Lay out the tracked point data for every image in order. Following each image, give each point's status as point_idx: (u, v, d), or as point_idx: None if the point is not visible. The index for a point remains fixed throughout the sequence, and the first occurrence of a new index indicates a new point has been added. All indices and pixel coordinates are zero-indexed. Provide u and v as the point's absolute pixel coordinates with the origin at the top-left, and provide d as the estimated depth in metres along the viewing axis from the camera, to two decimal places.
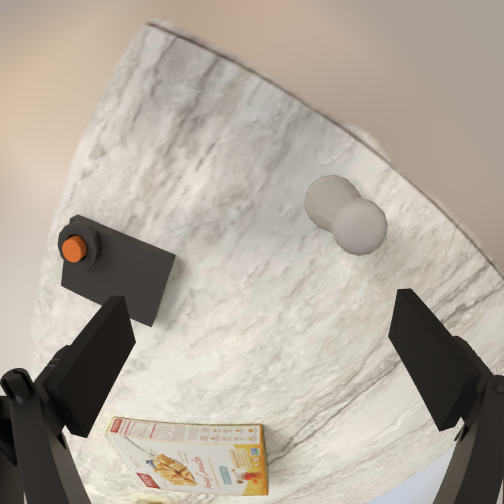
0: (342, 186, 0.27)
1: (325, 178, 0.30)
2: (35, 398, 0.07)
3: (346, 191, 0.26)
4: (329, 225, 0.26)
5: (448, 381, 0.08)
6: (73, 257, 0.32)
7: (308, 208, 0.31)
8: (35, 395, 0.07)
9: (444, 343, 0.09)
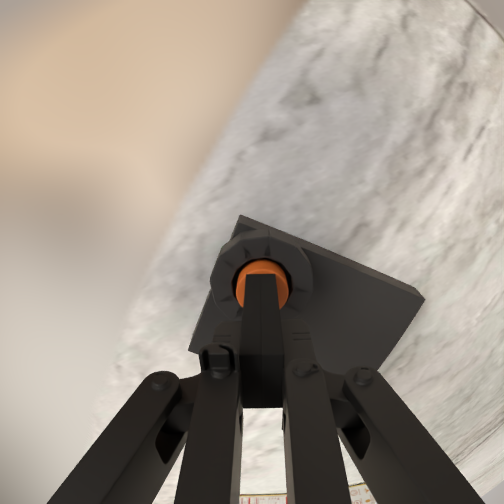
0: None
1: None
2: (234, 378, 0.09)
3: None
4: None
5: None
6: None
7: None
8: (235, 375, 0.09)
9: (265, 321, 0.12)
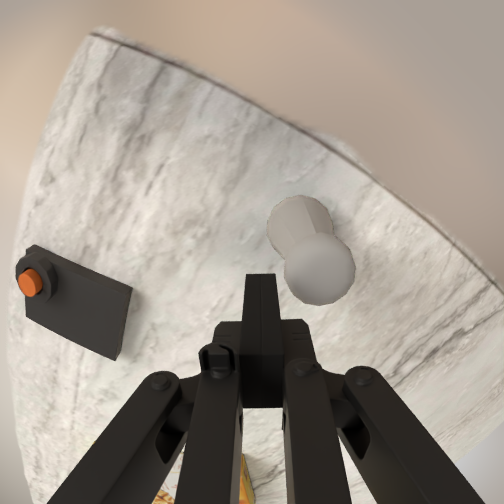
0: (306, 212, 0.23)
1: (289, 200, 0.26)
2: (234, 378, 0.09)
3: (309, 219, 0.22)
4: None
5: None
6: (29, 291, 0.28)
7: (269, 237, 0.26)
8: (235, 375, 0.09)
9: (265, 321, 0.12)
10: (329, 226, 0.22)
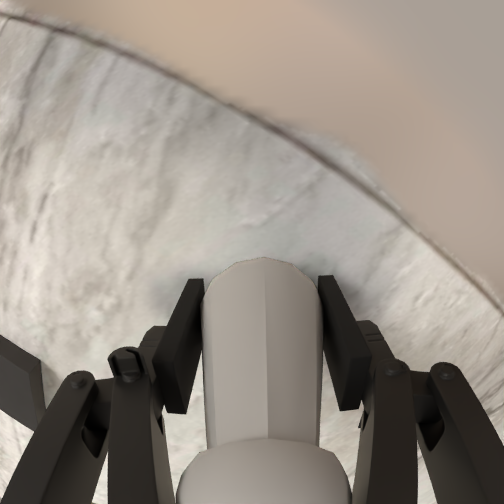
0: (262, 319, 0.10)
1: (237, 273, 0.13)
2: (144, 380, 0.09)
3: (262, 350, 0.09)
4: None
5: (342, 360, 0.10)
6: None
7: None
8: (145, 377, 0.09)
9: (342, 324, 0.11)
10: (311, 356, 0.10)
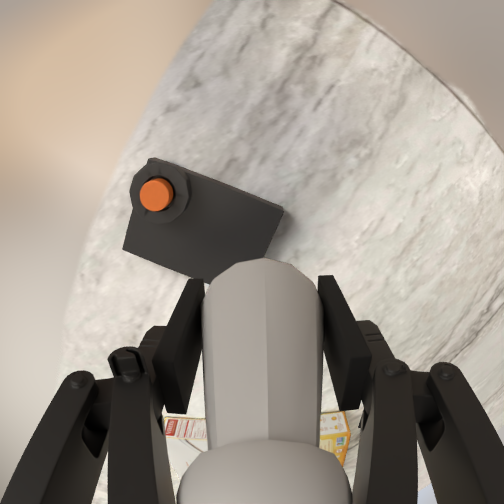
0: (262, 320, 0.10)
1: (238, 274, 0.13)
2: (144, 380, 0.09)
3: (263, 351, 0.09)
4: None
5: (342, 360, 0.10)
6: (156, 204, 0.27)
7: None
8: (145, 377, 0.09)
9: (342, 324, 0.11)
10: (312, 356, 0.10)
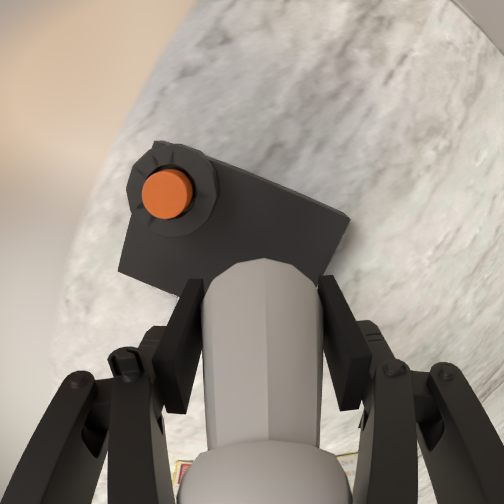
0: (262, 320, 0.10)
1: (238, 274, 0.13)
2: (144, 380, 0.09)
3: (263, 351, 0.09)
4: None
5: (342, 360, 0.10)
6: (167, 208, 0.17)
7: None
8: (145, 377, 0.09)
9: (342, 324, 0.11)
10: (312, 357, 0.10)
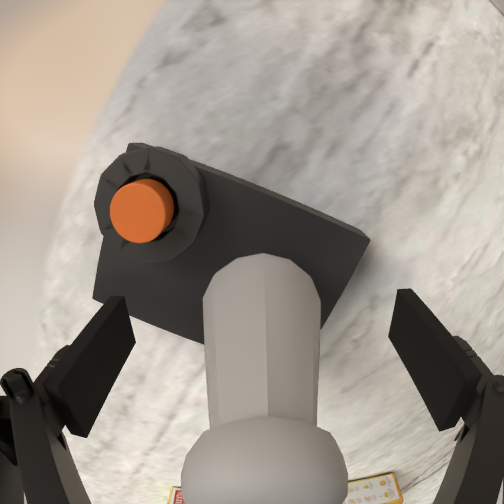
0: (262, 309, 0.11)
1: (238, 268, 0.14)
2: (35, 398, 0.07)
3: (262, 338, 0.10)
4: None
5: (448, 381, 0.08)
6: (141, 230, 0.13)
7: None
8: (35, 395, 0.07)
9: (444, 343, 0.09)
10: (308, 344, 0.10)
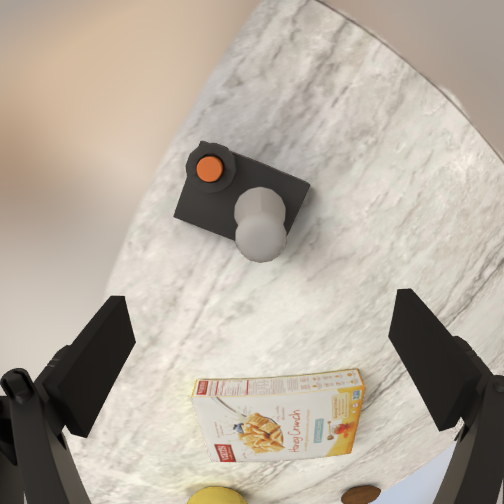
0: (259, 198, 0.31)
1: (250, 190, 0.34)
2: (35, 398, 0.07)
3: (260, 203, 0.30)
4: None
5: (448, 381, 0.08)
6: (210, 176, 0.34)
7: (235, 218, 0.34)
8: (35, 395, 0.07)
9: (444, 343, 0.09)
10: (276, 209, 0.30)
